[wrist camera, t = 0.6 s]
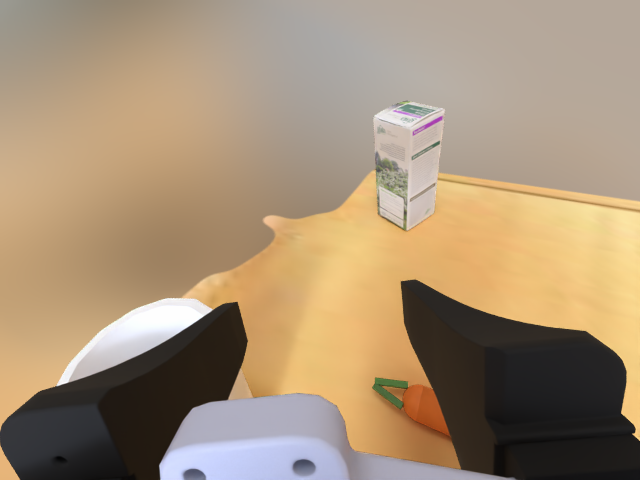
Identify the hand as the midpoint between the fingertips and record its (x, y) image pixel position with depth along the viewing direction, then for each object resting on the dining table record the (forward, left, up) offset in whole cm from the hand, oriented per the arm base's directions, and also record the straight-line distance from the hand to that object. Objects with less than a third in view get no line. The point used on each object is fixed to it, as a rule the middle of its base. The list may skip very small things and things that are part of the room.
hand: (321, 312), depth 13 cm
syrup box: (+23, -16, -17) cm, 33 cm away
